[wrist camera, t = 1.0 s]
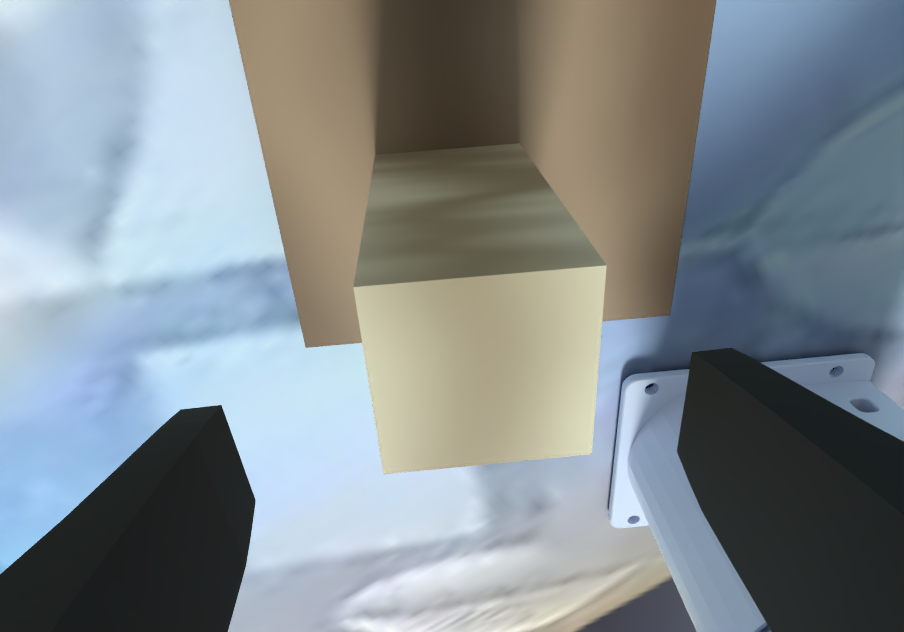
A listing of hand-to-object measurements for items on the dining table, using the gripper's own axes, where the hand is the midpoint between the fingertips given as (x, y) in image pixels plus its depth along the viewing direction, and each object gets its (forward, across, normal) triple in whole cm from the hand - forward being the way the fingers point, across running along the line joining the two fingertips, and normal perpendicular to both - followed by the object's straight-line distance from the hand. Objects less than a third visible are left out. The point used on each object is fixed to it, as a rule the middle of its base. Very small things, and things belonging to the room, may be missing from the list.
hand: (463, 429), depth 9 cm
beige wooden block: (+9, 0, 0) cm, 9 cm away
